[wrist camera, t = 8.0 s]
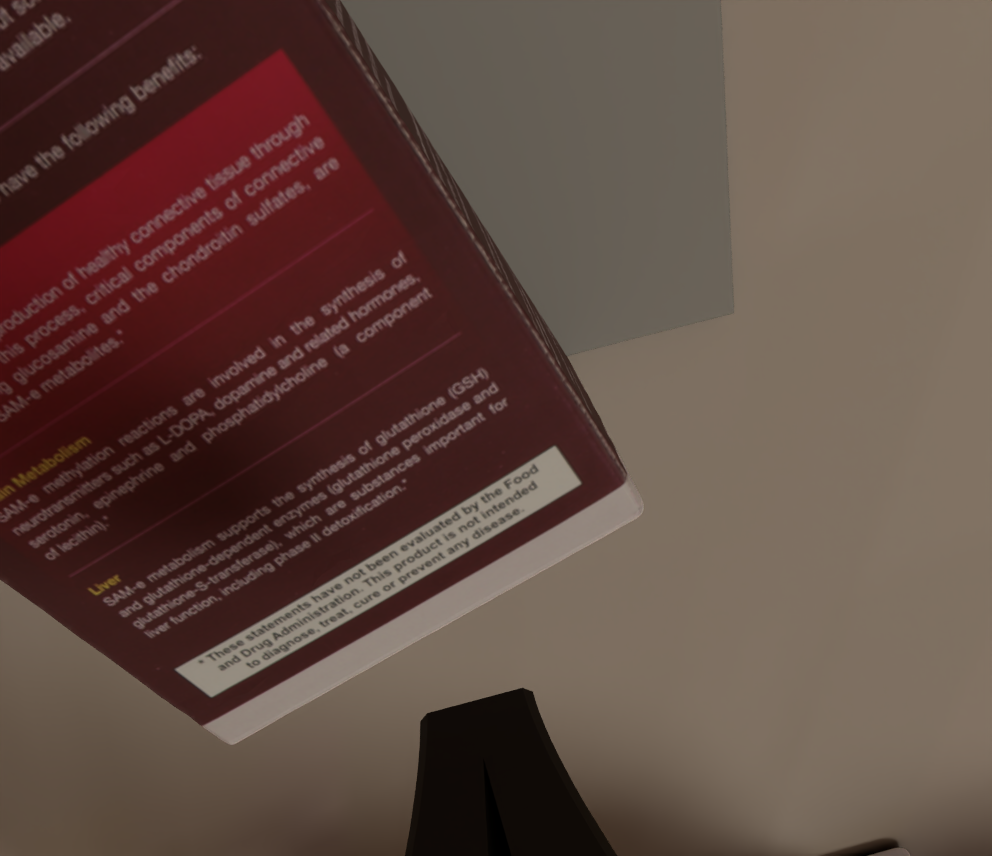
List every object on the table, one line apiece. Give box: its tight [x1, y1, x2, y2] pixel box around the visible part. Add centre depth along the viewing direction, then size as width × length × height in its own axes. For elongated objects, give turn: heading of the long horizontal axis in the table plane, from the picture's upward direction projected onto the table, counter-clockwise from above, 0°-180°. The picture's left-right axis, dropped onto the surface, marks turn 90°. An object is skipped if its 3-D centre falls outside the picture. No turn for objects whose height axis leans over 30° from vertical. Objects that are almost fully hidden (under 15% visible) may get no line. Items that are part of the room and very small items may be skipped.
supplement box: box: [0, 0, 644, 744], centre depth 12 cm, size 9×5×16 cm
